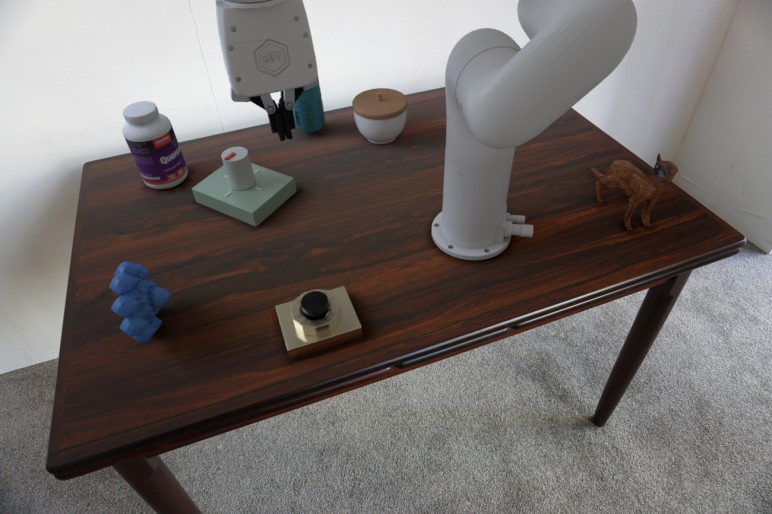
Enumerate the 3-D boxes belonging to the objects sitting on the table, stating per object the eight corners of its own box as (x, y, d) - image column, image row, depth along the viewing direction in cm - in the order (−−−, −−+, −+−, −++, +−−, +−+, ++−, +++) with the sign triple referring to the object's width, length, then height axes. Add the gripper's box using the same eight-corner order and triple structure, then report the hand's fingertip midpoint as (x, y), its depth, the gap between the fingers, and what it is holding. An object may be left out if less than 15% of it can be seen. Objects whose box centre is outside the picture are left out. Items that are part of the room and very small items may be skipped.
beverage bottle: (332, 127, 109) (321, 30, 95) (313, 142, 105) (297, 43, 91) (308, 119, 111) (293, 24, 97) (288, 134, 108) (269, 36, 94)
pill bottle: (176, 194, 94) (148, 123, 84) (137, 189, 96) (104, 119, 86) (197, 168, 100) (172, 98, 90) (159, 164, 101) (130, 95, 91)
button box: (345, 295, 75) (343, 276, 73) (363, 337, 70) (360, 318, 67) (277, 315, 73) (272, 297, 70) (290, 360, 68) (284, 342, 65)
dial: (241, 172, 93) (233, 142, 89) (260, 179, 91) (253, 148, 87) (224, 186, 90) (215, 155, 86) (243, 193, 89) (235, 162, 84)
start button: (325, 296, 71) (323, 287, 70) (332, 315, 68) (331, 306, 67) (299, 303, 70) (297, 295, 69) (306, 323, 68) (304, 315, 66)
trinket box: (408, 149, 102) (408, 106, 95) (353, 151, 102) (349, 107, 96) (407, 121, 109) (407, 79, 103) (356, 122, 110) (353, 80, 103)
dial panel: (296, 191, 94) (293, 177, 91) (256, 227, 87) (252, 212, 85) (238, 170, 99) (234, 156, 97) (196, 202, 92) (190, 187, 90)
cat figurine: (573, 176, 94) (591, 106, 84) (606, 170, 95) (628, 100, 85) (628, 241, 81) (657, 168, 72) (666, 234, 82) (700, 160, 73)
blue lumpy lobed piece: (184, 356, 69) (152, 296, 60) (131, 368, 68) (91, 309, 59) (186, 292, 77) (158, 232, 69) (138, 302, 76) (104, 242, 68)
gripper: (184, 4, 50) (230, 163, 63) (332, -19, 54) (348, 137, 67) (178, -18, 56) (222, 133, 68) (314, -38, 59) (331, 110, 72)
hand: (284, 134), depth 68 cm, fingers closed
